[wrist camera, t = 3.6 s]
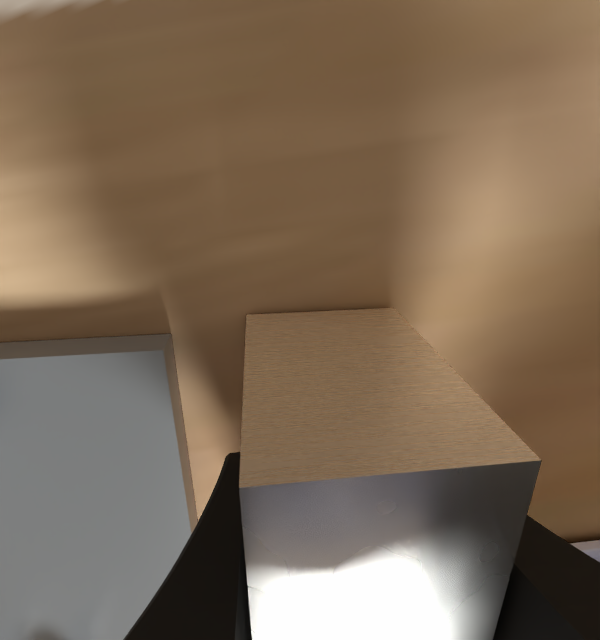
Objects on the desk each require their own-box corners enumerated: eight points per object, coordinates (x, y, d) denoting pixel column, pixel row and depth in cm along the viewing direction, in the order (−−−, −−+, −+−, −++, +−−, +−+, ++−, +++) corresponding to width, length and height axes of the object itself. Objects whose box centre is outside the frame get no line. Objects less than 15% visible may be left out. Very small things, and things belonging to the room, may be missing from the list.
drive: (375, 523, 14) (457, 766, 8) (260, 535, 13) (265, 798, 8) (393, 307, 11) (541, 460, 5) (246, 314, 10) (239, 487, 5)
